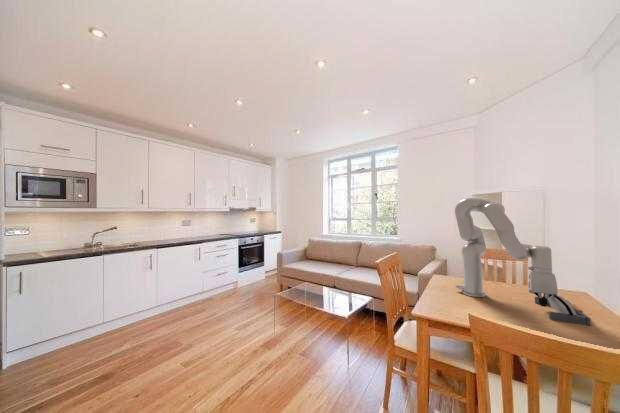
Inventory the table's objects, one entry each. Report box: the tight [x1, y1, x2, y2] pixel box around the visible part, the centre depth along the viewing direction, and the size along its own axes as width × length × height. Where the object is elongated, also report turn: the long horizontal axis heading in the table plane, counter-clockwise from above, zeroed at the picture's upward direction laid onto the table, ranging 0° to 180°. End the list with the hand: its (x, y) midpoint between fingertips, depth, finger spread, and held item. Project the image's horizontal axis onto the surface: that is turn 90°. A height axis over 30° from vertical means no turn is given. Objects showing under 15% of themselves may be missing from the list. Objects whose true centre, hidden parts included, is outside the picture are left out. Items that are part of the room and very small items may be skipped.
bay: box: [534, 295, 592, 327], centre depth 117 cm, size 13×23×4 cm, turn 150°
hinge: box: [548, 294, 577, 315], centre depth 115 cm, size 17×5×10 cm, turn 155°
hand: (542, 305), depth 120 cm, fingers closed
